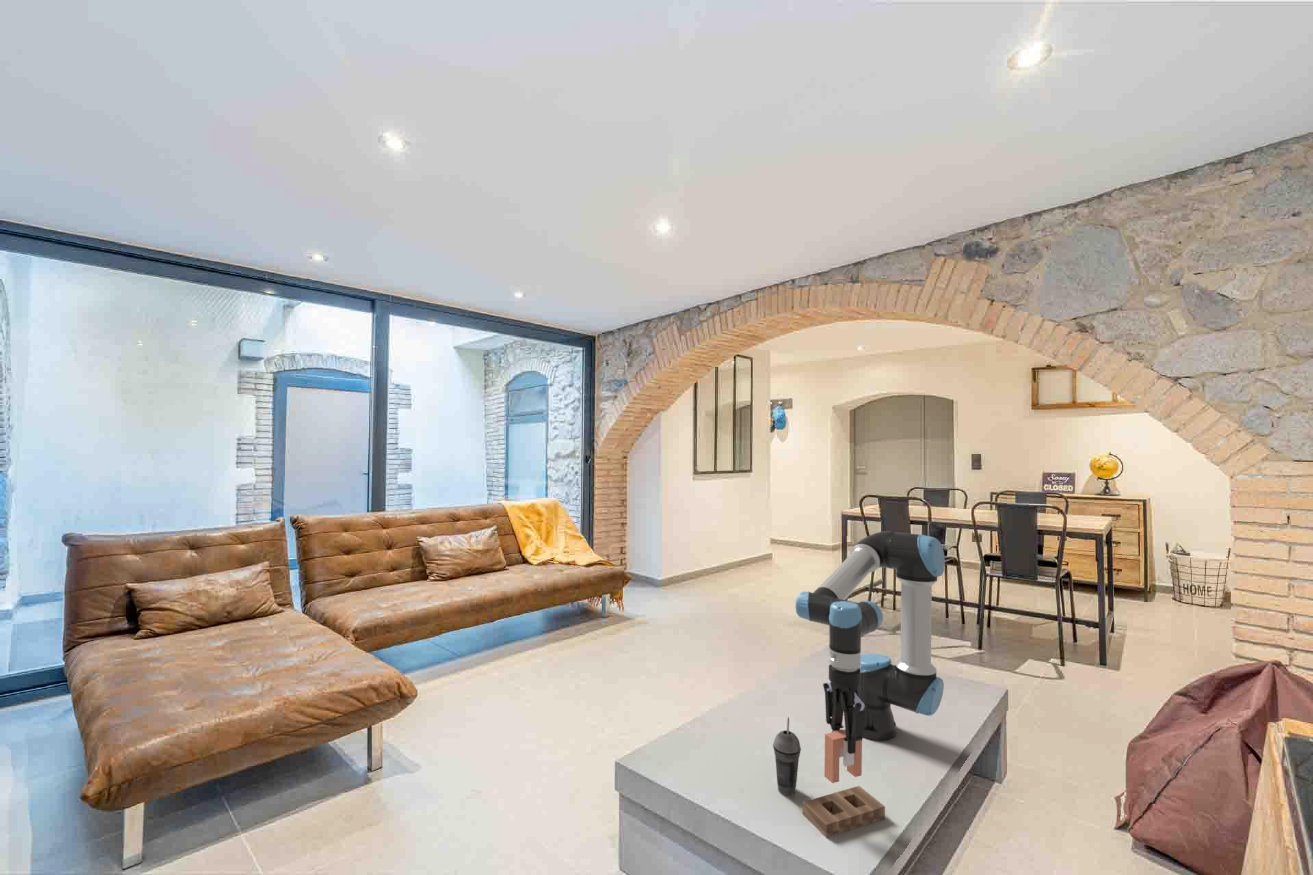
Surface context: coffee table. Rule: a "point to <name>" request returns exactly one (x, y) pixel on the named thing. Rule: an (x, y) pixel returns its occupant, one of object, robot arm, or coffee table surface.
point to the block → (832, 756)
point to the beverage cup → (786, 760)
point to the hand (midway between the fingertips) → (843, 760)
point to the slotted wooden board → (843, 811)
